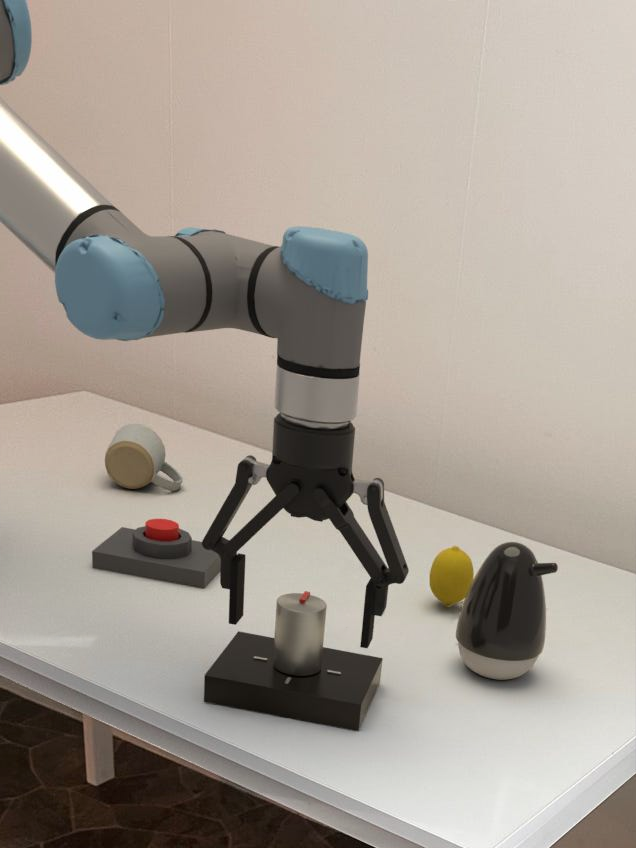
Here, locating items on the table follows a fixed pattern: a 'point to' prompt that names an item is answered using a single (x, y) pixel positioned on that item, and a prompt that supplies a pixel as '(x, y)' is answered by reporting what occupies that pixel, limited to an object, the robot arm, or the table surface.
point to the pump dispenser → (504, 613)
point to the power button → (162, 530)
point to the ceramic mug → (139, 459)
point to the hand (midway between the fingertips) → (301, 631)
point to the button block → (157, 558)
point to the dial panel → (293, 683)
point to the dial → (299, 634)
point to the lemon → (451, 576)
